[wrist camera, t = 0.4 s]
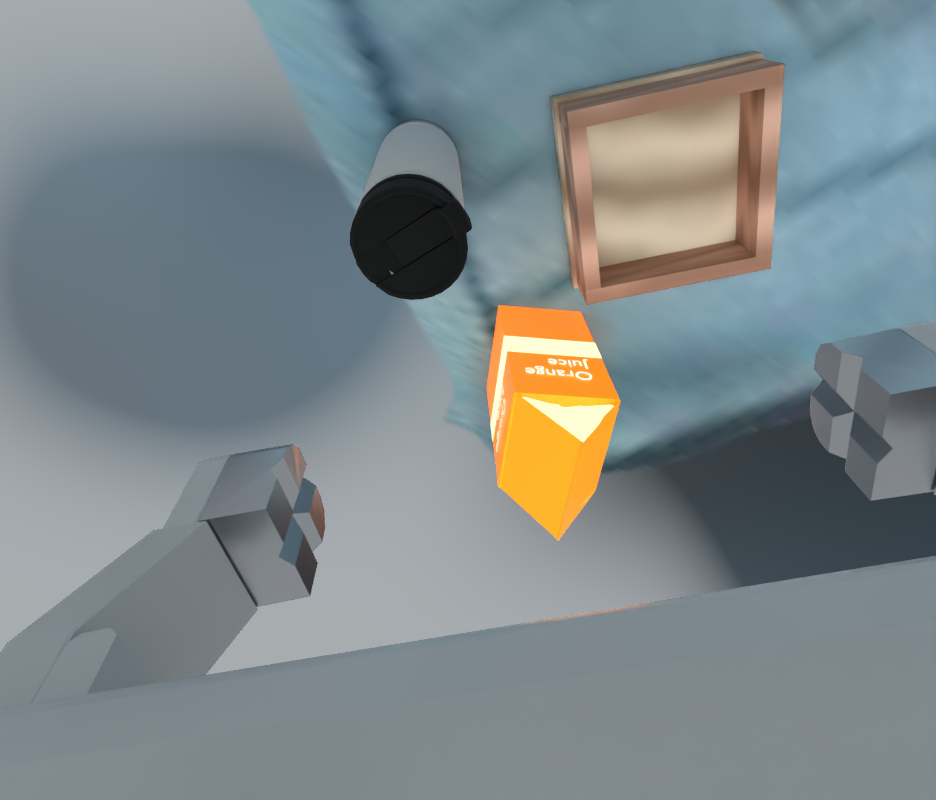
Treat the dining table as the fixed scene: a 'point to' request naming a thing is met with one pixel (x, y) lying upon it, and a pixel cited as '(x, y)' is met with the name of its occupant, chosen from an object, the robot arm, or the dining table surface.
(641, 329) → the dining table surface
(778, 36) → the dining table surface
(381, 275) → the travel mug
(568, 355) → the orange juice
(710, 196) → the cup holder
